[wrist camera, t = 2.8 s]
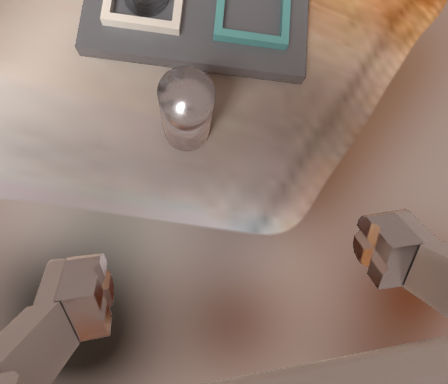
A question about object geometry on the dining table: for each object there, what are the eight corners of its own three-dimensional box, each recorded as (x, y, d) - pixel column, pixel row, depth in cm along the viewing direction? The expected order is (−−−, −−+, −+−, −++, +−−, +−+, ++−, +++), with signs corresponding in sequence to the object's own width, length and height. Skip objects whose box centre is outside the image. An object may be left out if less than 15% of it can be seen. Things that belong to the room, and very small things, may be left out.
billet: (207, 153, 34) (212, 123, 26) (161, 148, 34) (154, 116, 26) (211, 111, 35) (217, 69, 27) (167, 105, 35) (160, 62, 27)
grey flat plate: (300, 84, 37) (308, 71, 34) (79, 55, 35) (71, 40, 32) (305, -21, 39) (313, -40, 37) (99, -53, 37) (92, -75, 35)
